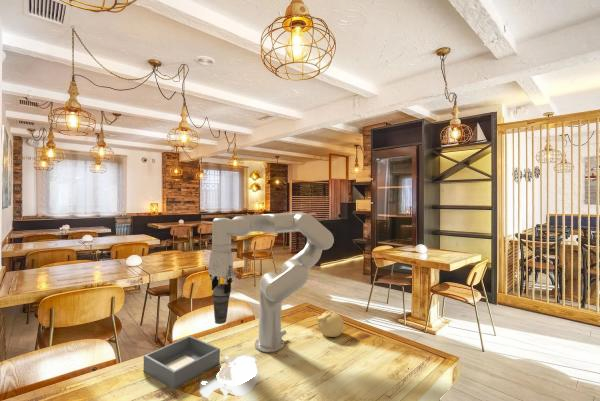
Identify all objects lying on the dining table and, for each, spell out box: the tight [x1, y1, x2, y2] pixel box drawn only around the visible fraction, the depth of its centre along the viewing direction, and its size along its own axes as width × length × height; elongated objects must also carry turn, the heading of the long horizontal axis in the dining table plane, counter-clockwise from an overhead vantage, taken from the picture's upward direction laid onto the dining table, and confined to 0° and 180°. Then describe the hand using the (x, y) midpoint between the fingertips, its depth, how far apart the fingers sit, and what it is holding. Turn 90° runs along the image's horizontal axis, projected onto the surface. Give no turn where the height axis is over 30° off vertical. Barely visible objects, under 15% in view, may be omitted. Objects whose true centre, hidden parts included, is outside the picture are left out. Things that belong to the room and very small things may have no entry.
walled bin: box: [143, 335, 221, 391], centre depth 119 cm, size 20×18×6 cm
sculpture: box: [316, 310, 345, 338], centre depth 151 cm, size 12×12×11 cm
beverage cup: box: [211, 277, 231, 325], centre depth 131 cm, size 7×7×20 cm
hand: (221, 290), depth 131 cm, fingers closed on beverage cup, 6 cm apart
